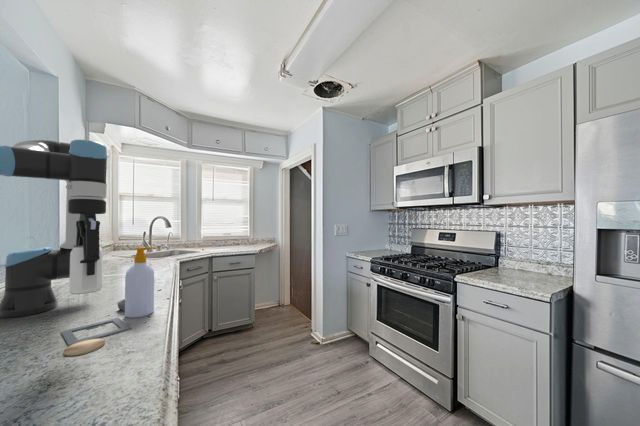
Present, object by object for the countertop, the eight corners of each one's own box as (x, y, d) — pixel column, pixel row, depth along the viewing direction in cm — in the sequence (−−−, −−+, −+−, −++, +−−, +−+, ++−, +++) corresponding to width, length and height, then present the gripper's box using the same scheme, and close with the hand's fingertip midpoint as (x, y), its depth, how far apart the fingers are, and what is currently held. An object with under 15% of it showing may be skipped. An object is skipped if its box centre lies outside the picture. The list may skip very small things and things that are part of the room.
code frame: (60, 332, 77) (60, 331, 77) (118, 318, 88) (118, 317, 88) (68, 346, 69) (69, 345, 69) (131, 329, 80) (131, 327, 80)
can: (82, 295, 64) (83, 247, 65) (62, 294, 66) (63, 246, 66) (108, 288, 71) (109, 244, 71) (89, 287, 72) (90, 244, 72)
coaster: (61, 349, 67) (61, 346, 67) (100, 338, 73) (100, 336, 74) (66, 359, 62) (66, 356, 62) (108, 346, 69) (108, 344, 69)
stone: (144, 303, 106) (144, 288, 106) (153, 306, 101) (153, 291, 101) (115, 310, 98) (115, 294, 98) (123, 314, 93) (123, 298, 93)
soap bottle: (151, 316, 90) (152, 248, 91) (120, 319, 88) (121, 249, 88) (159, 308, 99) (160, 246, 99) (130, 311, 96) (131, 246, 97)
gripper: (62, 200, 72) (60, 283, 71) (75, 195, 60) (73, 295, 59) (97, 202, 78) (96, 278, 77) (115, 197, 66) (114, 288, 65)
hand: (86, 285), depth 68 cm, fingers closed on can, 6 cm apart
